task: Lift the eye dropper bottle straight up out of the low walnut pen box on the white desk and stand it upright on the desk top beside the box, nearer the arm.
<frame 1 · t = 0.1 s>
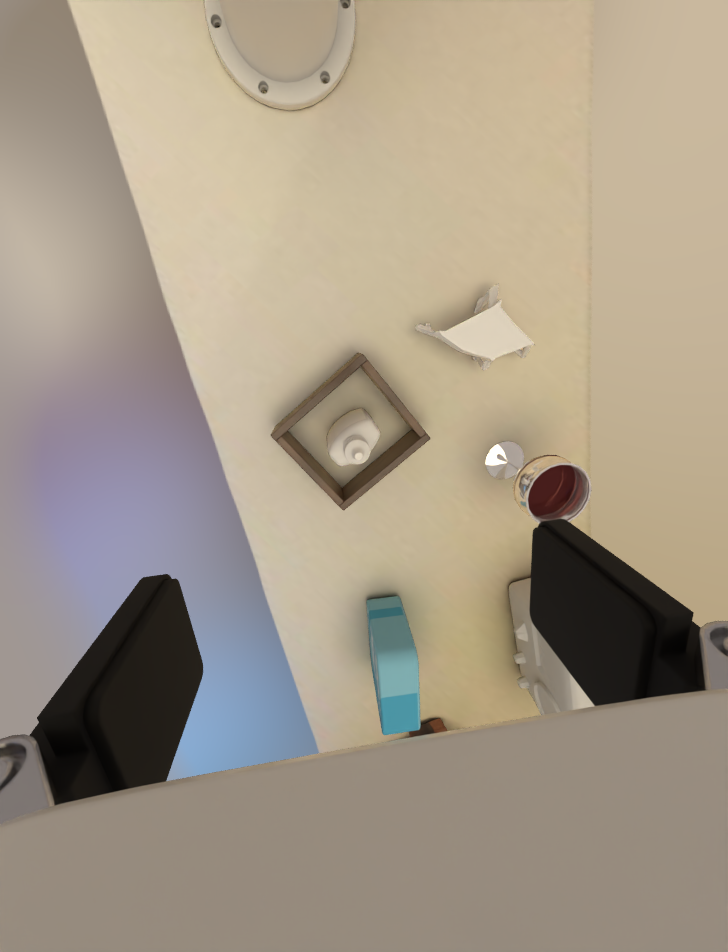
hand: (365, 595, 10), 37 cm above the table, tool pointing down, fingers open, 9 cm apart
radio: (529, 625, 59), on the table
data package: (384, 627, 57), on the table
eye dropper bottle: (349, 428, 47), resting in pen box
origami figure: (464, 331, 45), on the table
pen box: (349, 428, 47), on the table
pottery mug: (426, 740, 65), on the table
wineglass: (504, 460, 50), on the table
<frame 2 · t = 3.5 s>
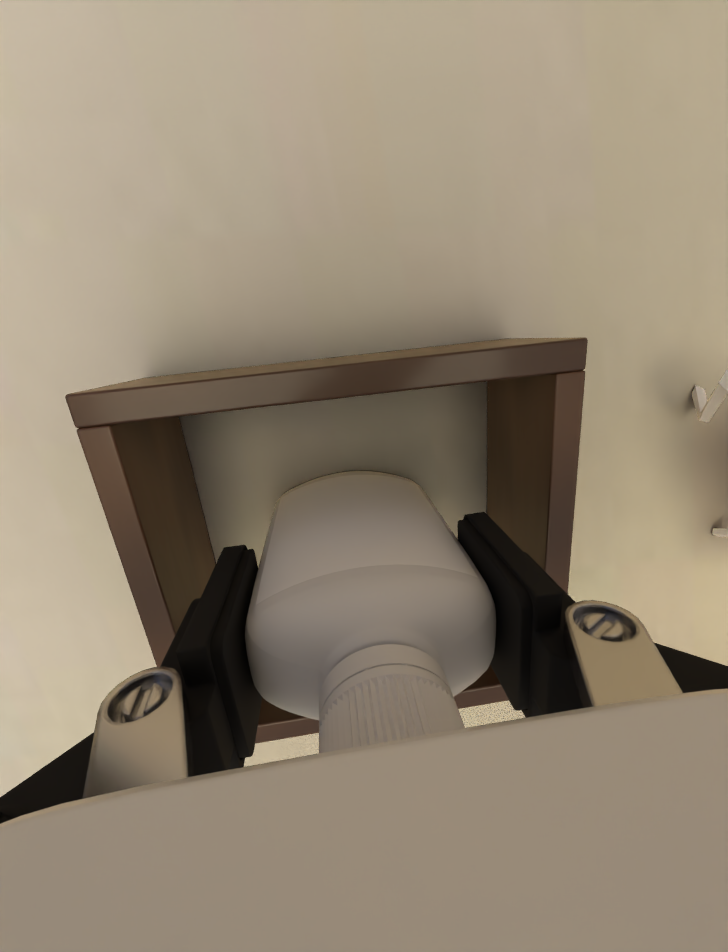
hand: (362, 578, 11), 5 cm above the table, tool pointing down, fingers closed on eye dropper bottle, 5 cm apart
eye dropper bottle: (350, 509, 16), resting in pen box, touching gripper
pen box: (350, 511, 16), on the table
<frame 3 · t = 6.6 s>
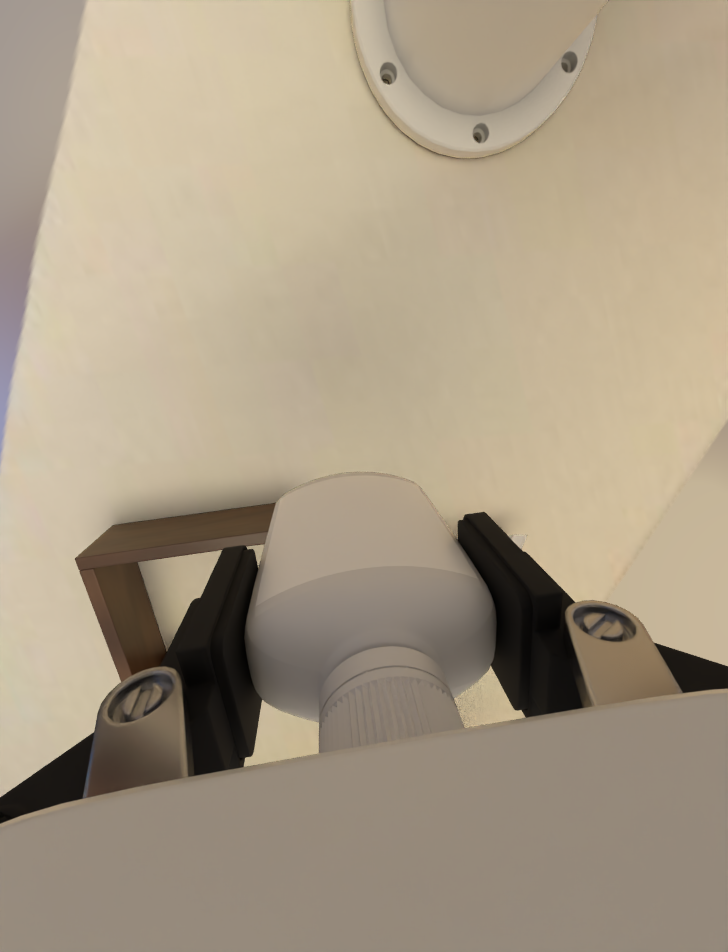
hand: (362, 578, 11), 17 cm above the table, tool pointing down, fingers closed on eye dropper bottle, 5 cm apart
eye dropper bottle: (350, 509, 16), point 12 cm above the table, touching gripper
pen box: (225, 584, 29), on the table
when the fingers open (5 cm above the table, at t = 9.8 s): eye dropper bottle stays where it is, on the table.
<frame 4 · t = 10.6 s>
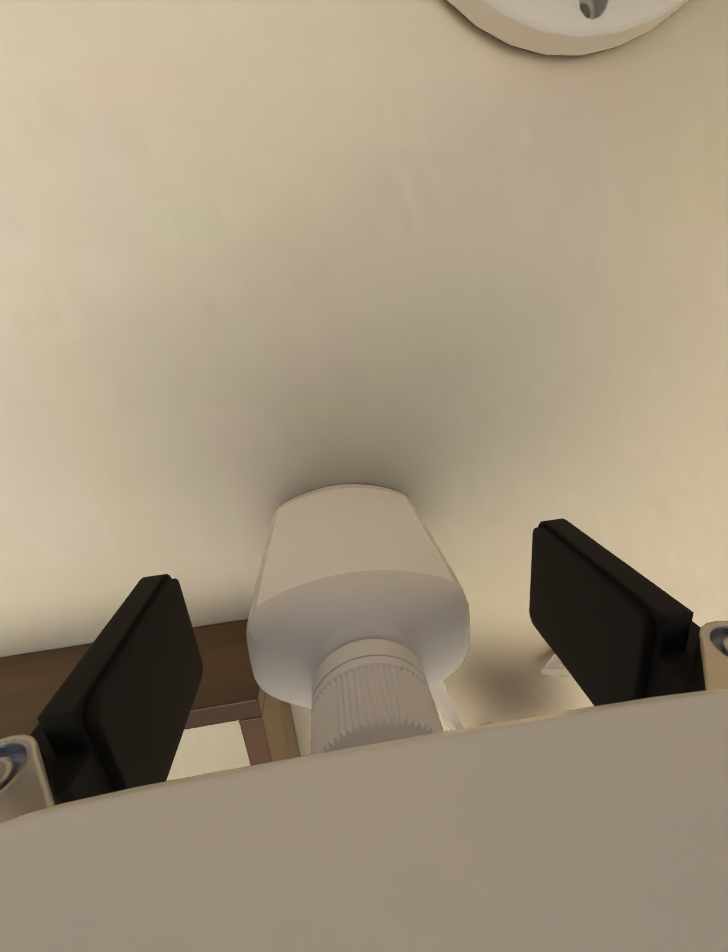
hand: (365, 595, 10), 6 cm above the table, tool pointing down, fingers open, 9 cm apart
eye dropper bottle: (343, 519, 17), on the table
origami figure: (498, 678, 21), on the table
pen box: (159, 738, 19), on the table
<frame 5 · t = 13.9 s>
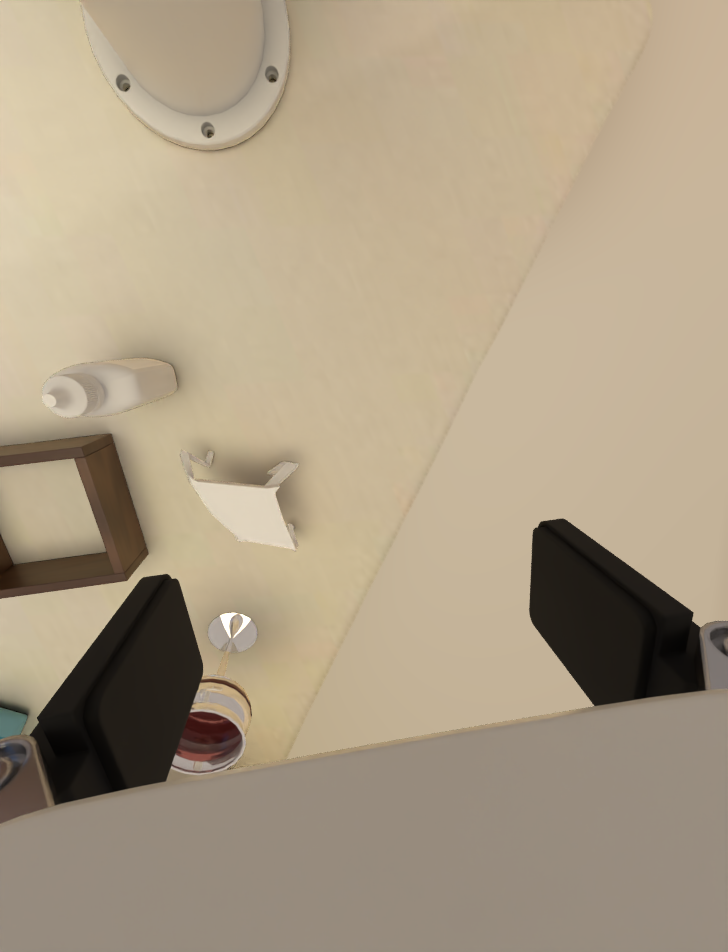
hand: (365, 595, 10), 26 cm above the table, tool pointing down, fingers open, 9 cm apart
eye dropper bottle: (143, 379, 33), on the table
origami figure: (251, 483, 37), on the table
pen box: (57, 506, 35), on the table
wineglass: (233, 631, 41), on the table
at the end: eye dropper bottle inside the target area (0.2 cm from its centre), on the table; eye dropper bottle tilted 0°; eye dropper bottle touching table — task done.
